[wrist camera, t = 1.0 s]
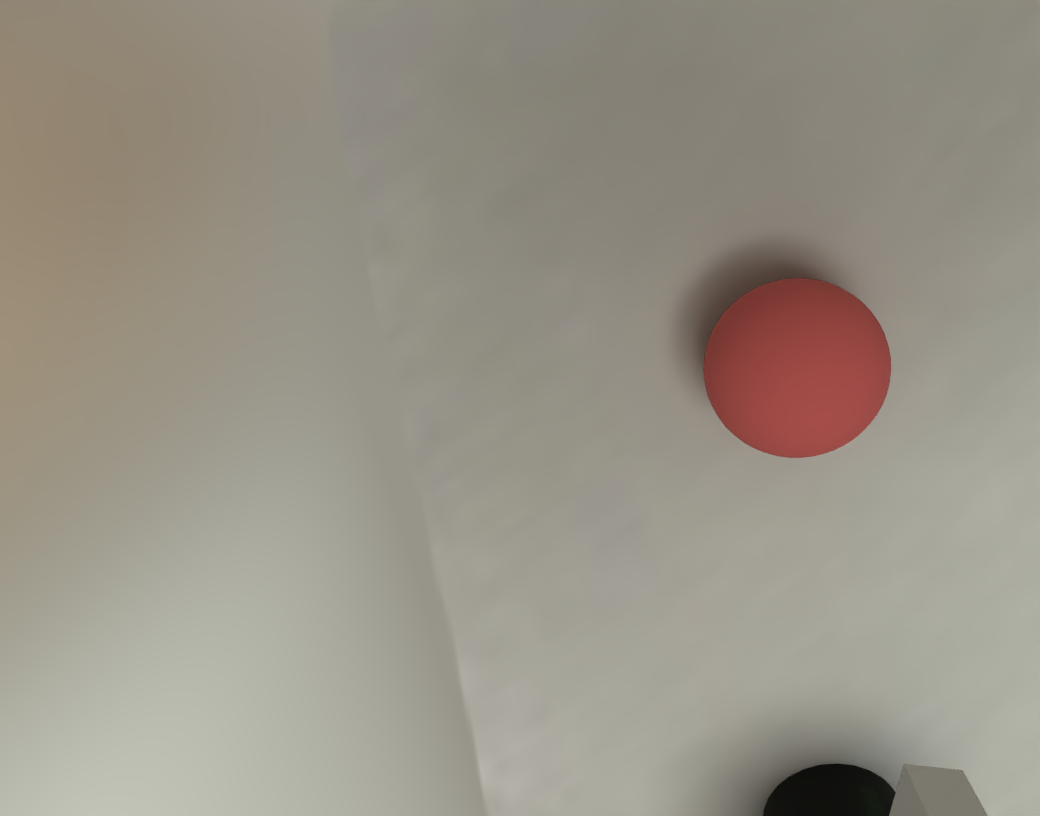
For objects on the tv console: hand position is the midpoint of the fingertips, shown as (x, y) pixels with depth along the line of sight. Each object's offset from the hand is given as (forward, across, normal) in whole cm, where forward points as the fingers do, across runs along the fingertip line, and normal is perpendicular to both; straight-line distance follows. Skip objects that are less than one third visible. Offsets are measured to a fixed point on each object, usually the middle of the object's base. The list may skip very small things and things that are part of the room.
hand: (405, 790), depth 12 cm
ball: (+18, +9, +1) cm, 20 cm away
